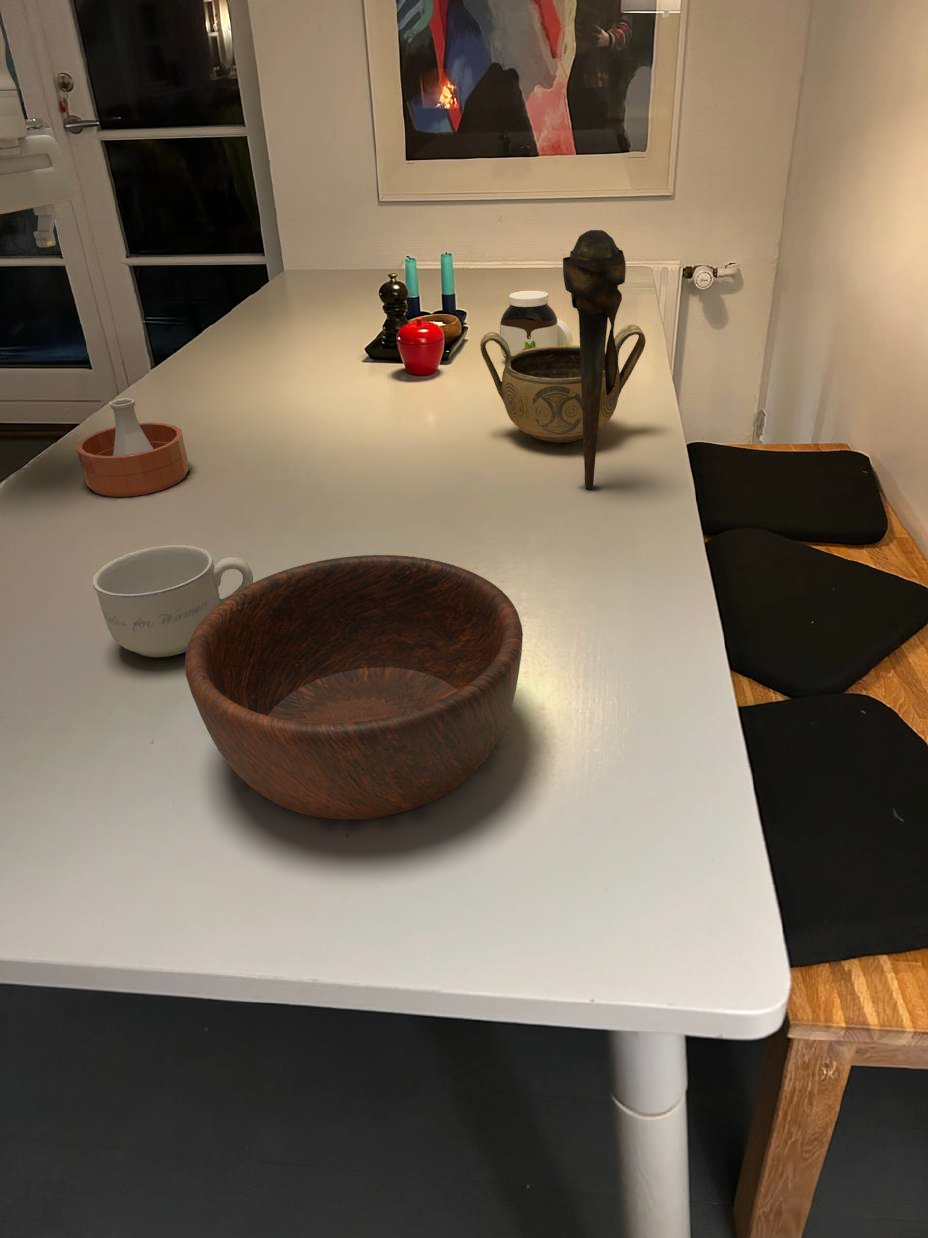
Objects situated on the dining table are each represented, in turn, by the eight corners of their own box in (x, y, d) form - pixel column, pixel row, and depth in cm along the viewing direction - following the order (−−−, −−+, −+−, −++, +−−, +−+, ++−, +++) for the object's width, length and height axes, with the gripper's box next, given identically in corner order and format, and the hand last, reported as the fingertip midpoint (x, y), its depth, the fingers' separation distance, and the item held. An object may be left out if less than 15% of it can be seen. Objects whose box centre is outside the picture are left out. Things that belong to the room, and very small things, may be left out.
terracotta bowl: (72, 499, 119) (60, 459, 116) (107, 461, 130) (98, 424, 127) (174, 495, 118) (165, 455, 116) (200, 458, 130) (193, 420, 127)
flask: (176, 472, 124) (160, 399, 119) (126, 488, 120) (108, 414, 115) (150, 459, 128) (134, 389, 123) (101, 474, 124) (83, 402, 119)
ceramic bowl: (632, 415, 138) (638, 312, 130) (646, 456, 123) (653, 343, 115) (484, 418, 139) (481, 317, 131) (481, 460, 125) (477, 348, 117)
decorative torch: (577, 502, 111) (583, 237, 96) (552, 483, 117) (553, 230, 101) (626, 492, 113) (639, 231, 98) (599, 473, 119) (607, 224, 103)
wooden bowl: (521, 650, 84) (520, 549, 78) (527, 850, 62) (526, 730, 57) (251, 654, 85) (232, 555, 80) (166, 851, 63) (132, 734, 58)
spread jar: (496, 366, 164) (494, 298, 158) (513, 349, 173) (512, 285, 167) (562, 369, 160) (562, 300, 154) (575, 352, 169) (577, 286, 163)
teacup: (97, 674, 83) (74, 597, 79) (130, 613, 92) (111, 542, 88) (250, 666, 83) (235, 589, 79) (268, 606, 92) (256, 534, 88)
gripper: (28, 117, 112) (58, 238, 119) (-115, 129, 95) (-69, 268, 103) (69, 115, 110) (98, 238, 117) (-70, 127, 93) (-26, 269, 101)
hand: (19, 253), depth 110 cm, fingers open, 8 cm apart
